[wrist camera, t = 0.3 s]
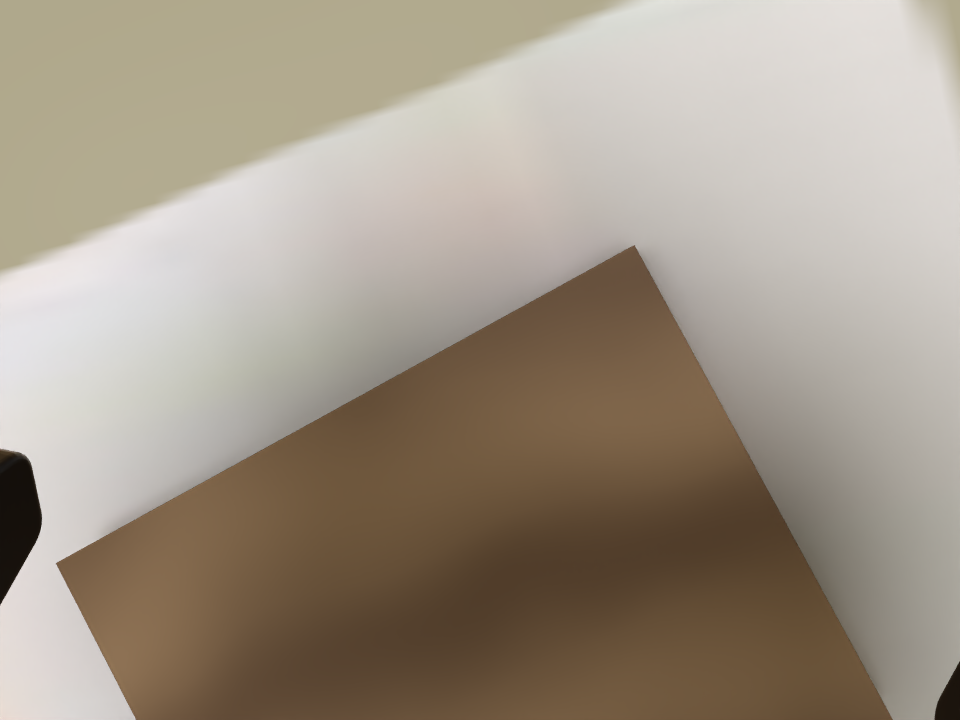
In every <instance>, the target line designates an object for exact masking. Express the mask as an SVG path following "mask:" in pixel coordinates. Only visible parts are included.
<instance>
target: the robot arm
mask: <svg viewBox="0 0 960 720" xmlns="http://www.w3.org/2000/svg"><path fill="white" fill-rule="evenodd" d="M41 525H42V513H41V508H40V503H39V499H38V494H37V489H36V484H35V479H34V475H33V470H32V466H31V463H30V461H29V459H28V458H27V457H26V456H25V455H23V454H21V453H19V452H15V451H9V450H4V449H0V605H1V603H2V601H3V599H4V598H5V596H6V594H7V592H8V590H9V589H10V587H11V585H12V583H13V582H14V580H15V578H16V576H17V575H18V573H19V571H20V569H21V568H22V566H23V564H24V562H25V560H26V559H27V557H28V555H29V553H30V552H31V550H32V548H33V546H34V545H35V543H36V541H37V539H38V536H39V533H40V530H41ZM935 720H960V662H959V664H958V665H957V667H956V669H955V671H954V673H953V675H952V676H951V678H950V680H949V682H948V684H947V685H946V687H945V689H944V691H943V693H942V695H941V696H940V698H939V701H938V703H937V707H936V711H935Z"/></svg>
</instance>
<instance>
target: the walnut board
mask: <svg viewBox="0 0 960 720" xmlns="http://www.w3.org/2000/svg"><path fill="white" fill-rule="evenodd" d="M56 564H57V566H58V568H59V570H60V572H61V574H62V576H63V578H64V580H65V582H66V584H67V586H68V588H69V590H70V592H71V594H72V595H73V597H74V599H75V601H76V603H77V605H78V607H79V609H80V611H81V613H82V615H83V617H84V619H85V621H86V623H87V625H88V627H89V629H90V631H91V632H92V634H93V636H94V638H95V640H96V642H97V644H98V646H99V648H100V650H101V652H102V654H103V656H104V658H105V660H106V662H107V664H108V666H109V668H110V670H111V671H112V673H113V675H114V677H115V679H116V681H117V683H118V685H119V687H120V689H121V691H122V693H123V695H124V697H125V699H126V701H127V703H128V705H129V707H130V708H131V710H132V712H133V714H134V716H135V718H136V720H893V719H892V718H891V716H890V714H889V712H888V710H887V708H886V707H885V705H884V703H883V701H882V699H881V697H880V696H879V694H878V692H877V690H876V688H875V686H874V684H873V683H872V681H871V679H870V677H869V675H868V673H867V672H866V670H865V668H864V666H863V664H862V662H861V661H860V659H859V657H858V655H857V653H856V651H855V650H854V648H853V646H852V644H851V642H850V640H849V639H848V637H847V635H846V633H845V631H844V629H843V628H842V626H841V624H840V622H839V620H838V618H837V617H836V615H835V613H834V611H833V609H832V607H831V605H830V604H829V602H828V600H827V598H826V596H825V594H824V593H823V591H822V589H821V587H820V585H819V583H818V582H817V580H816V578H815V576H814V574H813V572H812V571H811V569H810V567H809V565H808V563H807V561H806V560H805V558H804V556H803V554H802V552H801V550H800V549H799V547H798V545H797V543H796V541H795V539H794V538H793V536H792V534H791V532H790V530H789V528H788V526H787V525H786V523H785V521H784V519H783V517H782V515H781V514H780V512H779V510H778V508H777V506H776V504H775V503H774V501H773V499H772V497H771V495H770V493H769V492H768V490H767V488H766V486H765V484H764V482H763V481H762V479H761V477H760V475H759V473H758V471H757V470H756V468H755V466H754V464H753V462H752V460H751V459H750V457H749V455H748V453H747V451H746V449H745V447H744V446H743V444H742V442H741V440H740V438H739V436H738V435H737V433H736V431H735V429H734V427H733V425H732V424H731V422H730V420H729V418H728V416H727V414H726V413H725V411H724V409H723V407H722V405H721V403H720V402H719V400H718V398H717V396H716V394H715V392H714V391H713V389H712V387H711V385H710V383H709V381H708V380H707V378H706V376H705V374H704V372H703V370H702V368H701V367H700V365H699V363H698V361H697V359H696V357H695V356H694V354H693V352H692V350H691V348H690V346H689V345H688V343H687V341H686V339H685V337H684V335H683V334H682V332H681V330H680V328H679V326H678V324H677V323H676V321H675V319H674V317H673V315H672V313H671V312H670V310H669V308H668V306H667V304H666V302H665V301H664V299H663V297H662V295H661V293H660V291H659V289H658V288H657V286H656V284H655V282H654V280H653V278H652V277H651V275H650V273H649V271H648V269H647V267H646V266H645V264H644V262H643V260H642V258H641V256H640V255H639V253H638V251H637V249H636V247H635V245H634V246H632V247H630V248H628V249H626V250H625V251H623V252H621V253H619V254H617V255H616V256H614V257H612V258H610V259H608V260H606V261H605V262H603V263H601V264H599V265H597V266H596V267H594V268H592V269H590V270H588V271H586V272H585V273H583V274H581V275H579V276H577V277H576V278H574V279H572V280H570V281H568V282H566V283H565V284H563V285H561V286H559V287H557V288H556V289H554V290H552V291H550V292H548V293H546V294H545V295H543V296H541V297H539V298H537V299H536V300H534V301H532V302H530V303H528V304H526V305H525V306H523V307H521V308H519V309H517V310H516V311H514V312H512V313H510V314H508V315H506V316H505V317H503V318H501V319H499V320H497V321H496V322H494V323H492V324H490V325H488V326H486V327H485V328H483V329H481V330H479V331H477V332H476V333H474V334H472V335H470V336H468V337H466V338H465V339H463V340H461V341H459V342H457V343H456V344H454V345H452V346H450V347H448V348H446V349H445V350H443V351H441V352H439V353H437V354H436V355H434V356H432V357H430V358H428V359H426V360H425V361H423V362H421V363H419V364H417V365H416V366H414V367H412V368H410V369H408V370H406V371H405V372H403V373H401V374H399V375H397V376H396V377H394V378H392V379H390V380H388V381H386V382H385V383H383V384H381V385H379V386H377V387H376V388H374V389H372V390H370V391H368V392H366V393H365V394H363V395H361V396H359V397H357V398H356V399H354V400H352V401H350V402H348V403H346V404H345V405H343V406H341V407H339V408H337V409H336V410H334V411H332V412H330V413H328V414H326V415H325V416H323V417H321V418H319V419H317V420H316V421H314V422H312V423H310V424H308V425H306V426H305V427H303V428H301V429H299V430H297V431H296V432H294V433H292V434H290V435H288V436H286V437H285V438H283V439H281V440H279V441H277V442H276V443H274V444H272V445H270V446H268V447H266V448H265V449H263V450H261V451H259V452H257V453H256V454H254V455H252V456H250V457H248V458H246V459H245V460H243V461H241V462H239V463H237V464H236V465H234V466H232V467H230V468H228V469H226V470H225V471H223V472H221V473H219V474H217V475H216V476H214V477H212V478H210V479H208V480H206V481H205V482H203V483H201V484H199V485H197V486H196V487H194V488H192V489H190V490H188V491H186V492H185V493H183V494H181V495H179V496H177V497H176V498H174V499H172V500H170V501H168V502H166V503H165V504H163V505H161V506H159V507H157V508H156V509H154V510H152V511H150V512H148V513H146V514H145V515H143V516H141V517H139V518H137V519H136V520H134V521H132V522H130V523H128V524H126V525H125V526H123V527H121V528H119V529H117V530H116V531H114V532H112V533H110V534H108V535H106V536H105V537H103V538H101V539H99V540H97V541H96V542H94V543H92V544H90V545H88V546H86V547H85V548H83V549H81V550H79V551H77V552H76V553H74V554H72V555H70V556H68V557H66V558H65V559H63V560H61V561H59V562H57V563H56Z"/></svg>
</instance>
